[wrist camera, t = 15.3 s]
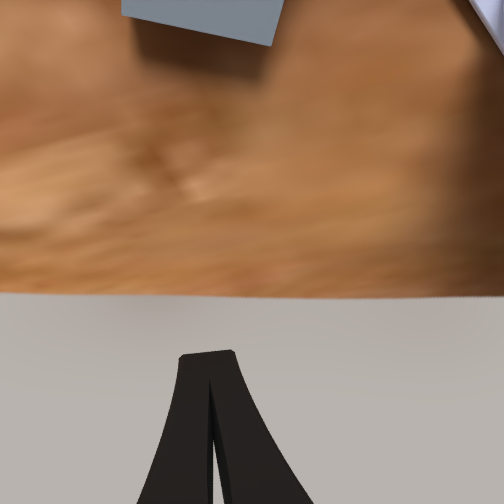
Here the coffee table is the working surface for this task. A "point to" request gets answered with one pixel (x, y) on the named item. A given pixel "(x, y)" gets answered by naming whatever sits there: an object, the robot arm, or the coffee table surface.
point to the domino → (213, 16)
